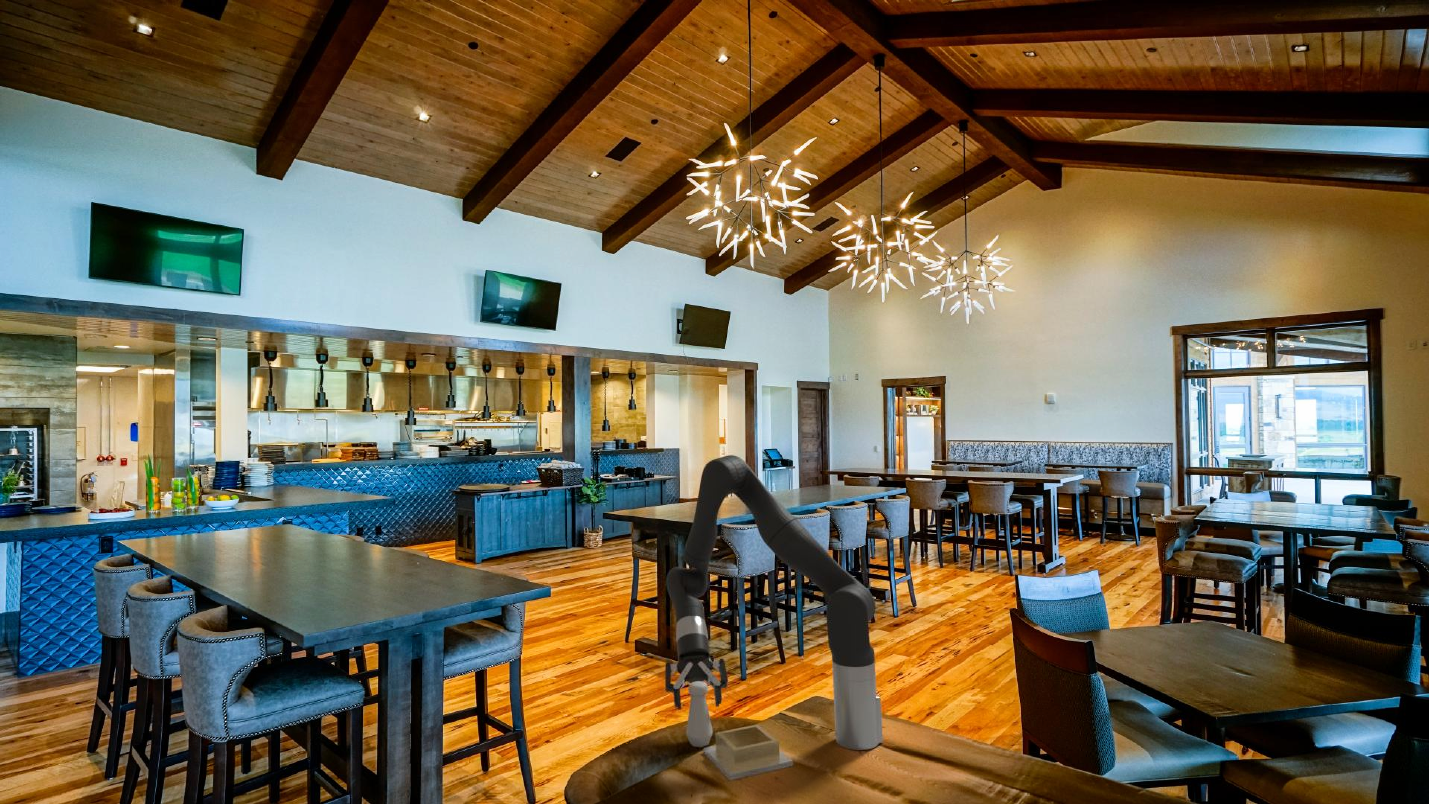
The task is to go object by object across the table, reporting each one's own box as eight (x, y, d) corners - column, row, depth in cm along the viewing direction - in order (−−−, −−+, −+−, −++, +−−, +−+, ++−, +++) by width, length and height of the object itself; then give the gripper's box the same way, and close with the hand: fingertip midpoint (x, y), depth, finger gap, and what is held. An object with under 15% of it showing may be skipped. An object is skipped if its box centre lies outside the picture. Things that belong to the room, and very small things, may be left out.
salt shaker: (709, 749, 150) (707, 687, 151) (684, 748, 152) (682, 686, 153) (715, 738, 156) (713, 679, 157) (690, 737, 157) (688, 678, 158)
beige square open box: (762, 740, 154) (761, 719, 155) (793, 765, 141) (792, 743, 142) (703, 752, 149) (703, 731, 149) (729, 780, 136) (729, 756, 136)
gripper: (662, 633, 164) (666, 701, 151) (723, 629, 165) (731, 696, 153) (662, 650, 168) (666, 717, 156) (720, 646, 170) (729, 712, 158)
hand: (698, 706), depth 155 cm, fingers open, 8 cm apart
